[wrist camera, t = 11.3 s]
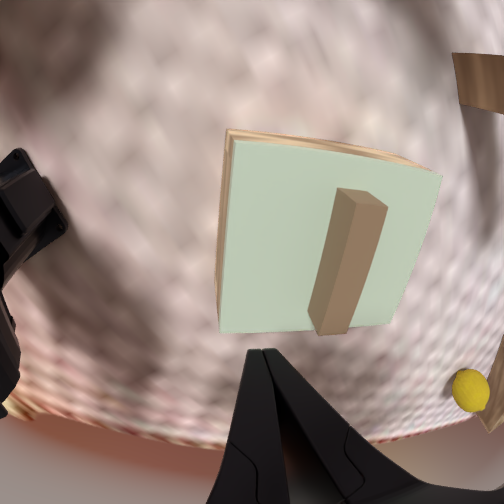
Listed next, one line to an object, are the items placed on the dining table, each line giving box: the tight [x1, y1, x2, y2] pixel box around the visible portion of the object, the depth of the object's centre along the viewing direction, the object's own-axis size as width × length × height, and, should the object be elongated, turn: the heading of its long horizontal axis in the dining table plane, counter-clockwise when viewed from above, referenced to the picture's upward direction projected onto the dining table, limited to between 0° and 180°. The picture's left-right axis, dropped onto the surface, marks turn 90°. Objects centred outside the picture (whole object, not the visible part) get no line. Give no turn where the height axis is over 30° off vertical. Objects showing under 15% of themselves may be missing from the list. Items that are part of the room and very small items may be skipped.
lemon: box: [452, 369, 490, 412], centre depth 32 cm, size 6×6×8 cm
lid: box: [219, 140, 443, 336], centre depth 15 cm, size 11×10×3 cm
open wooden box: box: [214, 129, 431, 322], centre depth 18 cm, size 11×10×4 cm
